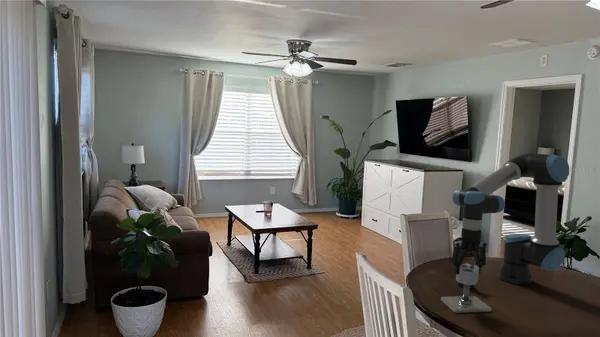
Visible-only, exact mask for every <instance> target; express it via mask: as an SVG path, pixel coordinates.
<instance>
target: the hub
mask: <svg viewBox="0 0 600 337" xmlns="http://www.w3.org/2000/svg"><path fill="white" fill-rule="evenodd" d="M476 281H477V271H476V270H474V269H471V268H467V267H466V266H463V267H462V274H461V283H462V284H466V285H474V286H475V285H477V282H476Z"/></svg>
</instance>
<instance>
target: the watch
mask: <svg viewBox="0 0 600 337" xmlns="http://www.w3.org/2000/svg"><path fill="white" fill-rule="evenodd" d="M460 267H467V268H471V269H474V265H472V264H470V263H462V264H461V266H460ZM457 284H458V287H460V288H462V289H464V284H462V283H459V282H458V283H457ZM474 286H475V285H470V289H473V288H474Z"/></svg>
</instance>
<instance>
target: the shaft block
mask: <svg viewBox="0 0 600 337" xmlns="http://www.w3.org/2000/svg"><path fill="white" fill-rule="evenodd" d="M470 289H471V288H470V285H466V284H464V288H462V291H463V292H462V296H458V295H457V296H441V297H440V301H441V302H442V303H443V304H444V305H445V306H447V307H448V308H449V309H450V310H451V311H453V312H454V313H457V314H458V313H481V312H482V313H483V312H484V313H485V312H486V313H487V312H489V313H490V312H492V307H491V306H489V305H488V304H487V303H485V302H484V301H483V300H481V299H480V298H478V297H477V296H475V295H470Z"/></svg>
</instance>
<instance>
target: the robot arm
mask: <svg viewBox="0 0 600 337" xmlns="http://www.w3.org/2000/svg"><path fill="white" fill-rule="evenodd" d="M569 175H570V166H569V163H568V161H567V159H566V158H565V157H563V156H561V155H555V154H545V153H534V152H530V153H523V154H521V155H518V156H515V157H513V158H510V159H509V160H508V161H506V162H504V164H503V165H502V167H500V168H499V169H497V170H495V171H494V172H492V173H490V174H489V175H487V176H485V177H484V178H482V179H481V180H479V181H477V182H476V183H474V184H472V185H471V186H470V187H467V188H466V189H459V188H458V189H456V190H455V191H454V192H453V194H452V201H453V204H454V205H456V206H460V207H462V208H463V212H462V213H463V214H462V222H461V223H462V224H461V225H462V227H461V235H460V237H461V238H460V240H459V241H455V240H454V242H453V251H452V256H451V261H450V263H451V265H453V266H454V274H455V281H457V283H458V284H459V283H461V274H462V267H460V266H461V265H462V264H463V262H464V260H465V256H466V255H467V254H468V252H469V251H472V254H473V259H474V263H475V265H473V267H474V270H476V271H477V281H476V283H478V282H479V275H481V271H482V270H481V269H482V268H483V266H486V265H487V260H486V259H487V258H486V257H487V256H486V249H487V244H488V243H487V242H485V241H483V240H482V241H481V238H482V230H481V229H482V226H483V215H484V214H487V215H488V214H496V213H497V214H498V213H501V212H502V211H504V210H505V208H506V207H505V206H506V202H505V200H504V198H503V197H502V196H500V195H495V194H493V195H491V194H492V193H494V192H496V191H498V190H499V189H501V188H502V187H504V186H506V185H507V184H508V183H510V182H512V181H518V180H519V179H520V178H529V179H531V178H532V179H533V180H532V181H533V182H532V183H533V184H534V186H535V187H536V194H535V215H534V216H535V217H534V218H535V219H534V234H533V235H534V236H531V234H526V233H525V234H524V233H511V234H507V235H506V236H505V240H504V249H503V250H504V251H503V261H502V264H501V265H500V268H499V270H498V272H497V273H498V274H497V277H498V278H499V279H500V280H501V281H503V282H507V283H509V284H515V285H522V286H523V285H530V284H532V283H533V282H532V281H533V280H532V278H533V277H532V273H531V269H530V265H532V266H534V267H536V268H539V269H541V270H546V271H549V272H550V271H551V272H552V271H556V270H557V269H559V268H560V267H561V265H563V262H564V260H565V251H564V249H563V248H562V247H560V241H559V240H558V239H557V238H556V236H557V216H558V201H559V200H558V199H559V188H560V187H562V186H563V182H566V181H567V179H568V178H569Z"/></svg>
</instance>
